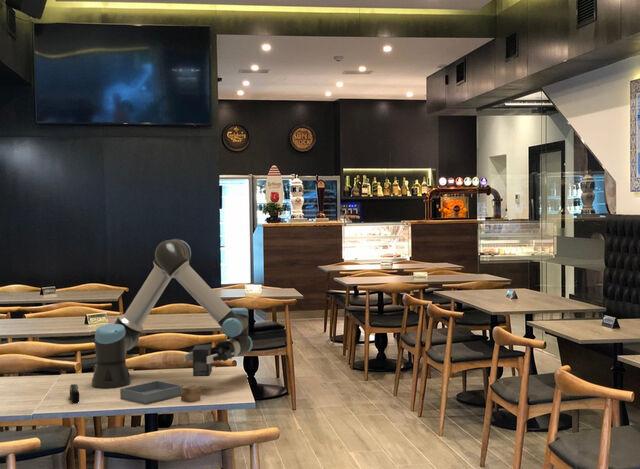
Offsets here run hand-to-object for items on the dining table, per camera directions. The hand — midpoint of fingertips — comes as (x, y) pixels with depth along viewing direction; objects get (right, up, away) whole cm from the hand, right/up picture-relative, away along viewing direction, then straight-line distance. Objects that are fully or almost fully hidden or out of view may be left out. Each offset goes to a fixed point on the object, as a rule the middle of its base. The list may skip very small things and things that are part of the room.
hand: (196, 359), depth 288 cm
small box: (+2, -6, +4) cm, 8 cm away
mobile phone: (-44, -14, -5) cm, 47 cm away
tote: (-16, -13, -3) cm, 21 cm away
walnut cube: (0, -14, -9) cm, 16 cm away
